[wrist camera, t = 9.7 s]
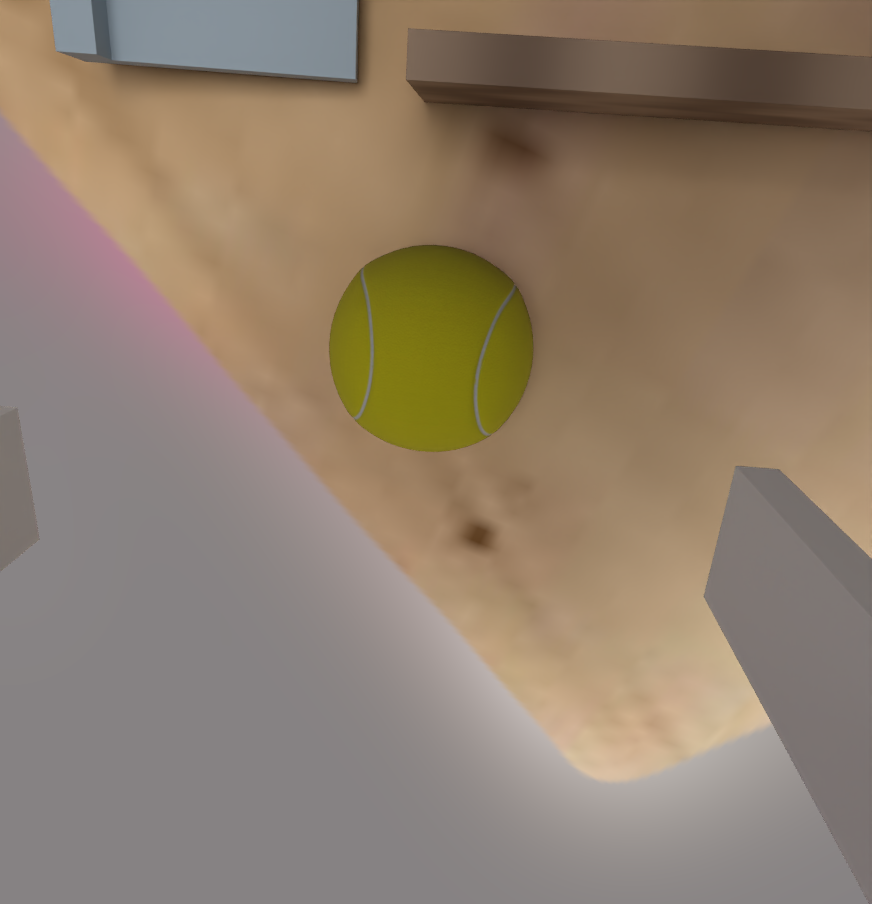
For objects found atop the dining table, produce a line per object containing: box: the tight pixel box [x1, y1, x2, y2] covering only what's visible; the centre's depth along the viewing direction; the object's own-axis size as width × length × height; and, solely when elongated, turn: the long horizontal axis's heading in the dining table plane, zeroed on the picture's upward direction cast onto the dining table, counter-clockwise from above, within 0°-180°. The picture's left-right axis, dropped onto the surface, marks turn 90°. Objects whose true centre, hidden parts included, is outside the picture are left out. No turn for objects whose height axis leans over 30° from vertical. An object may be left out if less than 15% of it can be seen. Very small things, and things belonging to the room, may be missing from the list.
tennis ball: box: [329, 245, 533, 452], centre depth 24 cm, size 7×7×7 cm
